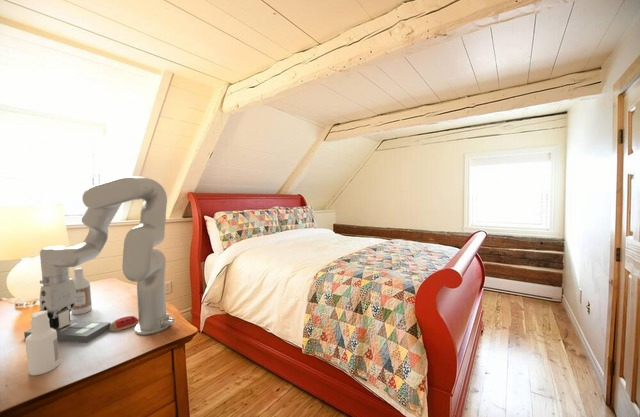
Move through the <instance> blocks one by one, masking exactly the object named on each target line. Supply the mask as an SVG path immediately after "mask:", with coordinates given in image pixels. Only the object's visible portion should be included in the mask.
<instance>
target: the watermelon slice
mask: <svg viewBox="0 0 640 417" xmlns="http://www.w3.org/2000/svg"><path fill="white" fill-rule="evenodd" d="M137 324H139V318H137V317H136V316H134V315H128V316H124V317H120V318H117V319H115V320H114V321H112V322H111V325H110V328H109V330H108V331H111V332H119V331H120V332H121V331H125V330H127V329H130V328H132V327H134V326H135V327H136V325H137Z"/></svg>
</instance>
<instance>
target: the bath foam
mask: <svg viewBox="0 0 640 417" xmlns="http://www.w3.org/2000/svg"><path fill="white" fill-rule="evenodd" d="M73 270H74V271H73V272H74V273H73V274H74V278H72V280H73V282H74V285H75V289H76V295H77V299H78V301H77V302H76V303H75V304H74V305H73V307H72V308H71V309H72V310H71V311H70V313H71V314H72V315H83V314H86V313H89V312H90V311H91V310H92V308H93V307H92V306H93V305H92V293H91V285H90V280H89V279H88V278H87V277H86V276H84V269H83V267H76V268H74V269H73Z"/></svg>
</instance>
